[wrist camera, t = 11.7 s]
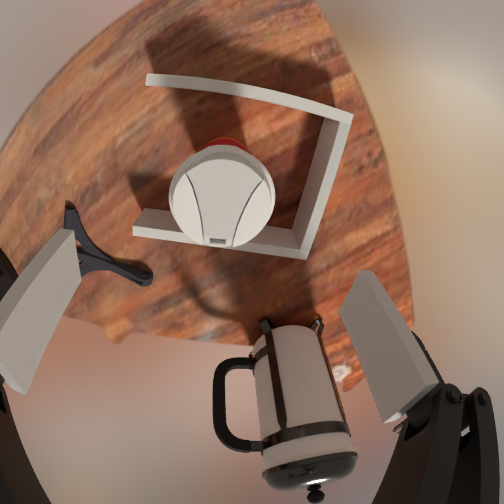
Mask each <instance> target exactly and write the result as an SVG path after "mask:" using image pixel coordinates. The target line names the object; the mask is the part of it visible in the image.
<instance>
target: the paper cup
mask: <svg viewBox="0 0 504 504" xmlns="http://www.w3.org/2000/svg"><path fill="white" fill-rule="evenodd" d="M169 205H170V209H171V212H172V215H173V217H174V219H175V220H176V222H177V224H178V225H179V227H180V229H181V230H182V231H183V232H184V233H185V234H186V235H187V236H188V237H189V238H190V239H192V240H194V241H195V242H197V243H199V244H201V245H203V243H204V244H208V245H210V246H215V247H225V246H232V247H236V246H239V245H242V244H244V243H246V242H248V241H249V240H251V239H252V238H254V237H255V236H256V235H257V234H258V233H259V232H260V231H261V230H262V229H263V227H264V226H265V225H266V223H267V222H268V220H269V219H270V216H271V214H272V212H273V208H274V205H275V188H274V184H273V181H272V178H271V176H270V174H269V172H268V171H267V169H266V168H265V166H264V165H263V164H262V163H261V162H260V161H259V160H258V159H256V158H255V157H254V156H252V155H251V154H250V152H249V151H248V149H247V148H246V147H245V146H244V145H243V144H242V143H241V142H240V141H238V140H237V139H235V138H232V137H218V138H215V139H213V140H211V141H209V142H208V143H207V144H206V145H205V146H204V147H203V148H202V149H201V150H200V151H199V152H198V153H196V154H194V155H192V156H191V157H189V158H188V159H187V160H185V161H184V162H183V163H182V164H181V165H180V167H179V168H178V170H177V171H176V172H175V174H174V176H173V179H172V181H171V184H170V188H169Z"/></svg>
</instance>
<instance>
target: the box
mask: <svg viewBox="0 0 504 504" xmlns="http://www.w3.org/2000/svg"><path fill="white" fill-rule="evenodd" d="M145 85H147V86H157V87H170V88H182V89H192V90H200V91H208V92H215V93H222V94H228V95H234V96H240V97H245V98H250V99H255V100H260V101H265V102H269V103H274V104H278V105H282V106H286V107H290V108H294V109H298V110H301V111H305V112H309V113H312V114H315V115H319V116H322V117H324V120H323V123H322V127H321V131H320V134H319V138H318V142H317V145H316V149H315V152H314V156H313V159H312V163H311V166H310V170H309V173H308V177H307V180H306V183H305V187H304V190H303V193H302V197H301V200H300V203H299V207H298V210H297V213H296V217H295V220H294V223H293V226H292V229H285V228H279V227H273V226H267V225H265V226H264V227H263V229H262V230H261V231H260V232H259V233H258V234H257V235H256V236H255V237H254V238H252V239H251V240H249V241H248V242H246V243H244V244H242V245H239V246H236V247H232V246H225V247H219V248H226V249H233V250H240V251H247V252H254V253H261V254H268V255H275V256H282V257H290V258H297V259H304V260H307V257H308V254H309V252H310V249H311V246H312V243H313V241H314V238H315V235H316V232H317V229H318V226H319V224H320V221H321V218H322V215H323V212H324V209H325V206H326V203H327V200H328V197H329V194H330V191H331V188H332V185H333V182H334V179H335V176H336V173H337V169H338V166H339V163H340V160H341V156H342V153H343V150H344V147H345V143H346V140H347V136H348V133H349V129H350V126H351V122H352V119H353V114H351V113H348V112H345V111H342V110H340V109H337V108H334V107H331V106H328V105H325V104H321V103H318V102H315V101H312V100H308V99H305V98H301V97H297V96H294V95H290V94H286V93H282V92H278V91H274V90H270V89H265V88H260V87H256V86H251V85H246V84H240V83H234V82H228V81H222V80H215V79H208V78H200V77H191V76H180V75H166V74H147V78H146V83H145ZM133 235H134V236H141V237H148V238H155V239H162V240H169V241H177V242H184V243H191V244H198V245H201V244H199V243H197V242H195V241H194V240H192V239H190V238H189V237H188V236H187V235H186V234H185V233H184V232H183V231H182V230H181V229H180V227H179V225H178V224H177V222H176V220H175V219H174V217H173V215H172V212H171V211H166V210H158V209H151V208H144V209H143V211H142V212H141V214H140V215H139V217H138V219H137V220H136V222H135V223H134V225H133ZM203 245H205V246H210V245H208V244H204V243H203ZM212 247H215V246H212Z"/></svg>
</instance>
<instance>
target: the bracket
mask: <svg viewBox="0 0 504 504" xmlns="http://www.w3.org/2000/svg"><path fill="white" fill-rule="evenodd" d="M64 229H68V230H74V234H75V239H76V240H78V241H79V242H80V243H81V245H82V247H83V250H80V249H78V248H76V250H77V257H78V260H81V261H83V262H82V263H80V264H79V269H80V274H81V277H82V276H83V275H84V274H86V273H88V272H90V271H94V270H109V271H112V272H115V273H117V274H119V275H121V276H123V277H125V278H127V279H129V280H131V281H133V282H134V283H136V284H138V285H139V286H142V287H145V286H149V285H150V284H151V283H152V279H153V273H151V272H148V271H144V270H141V269H138V268H135V267H132V266H128V265H125V264H122V263H119V262H116V261H113V259H111V258H110V257H108V256H107V255H105V254H104V253H103V252H102V251H100V250H99V249H98V248H97V247H96V246H95V245H94V244H93V242H92V241H91V240H90V238H89V237H88V235H87V234H86V232H85V230H84V228H83V225H82V223H81V220H80V217H79V214H78V212H77V211H76V208H74V209H69V206H68V205H67V206H66V207H65V222H64ZM142 274H146V275H148V276H146V275H142Z"/></svg>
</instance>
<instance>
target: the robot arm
mask: <svg viewBox="0 0 504 504" xmlns="http://www.w3.org/2000/svg"><path fill="white" fill-rule="evenodd" d="M81 281H82V280H81V274H80V269H79V263H78V257H77V250H76V242H75V234H74V230H68V229H61V228H60V229H59V230H58V232H57V233H56V234H55V235H54V236H53V237H52V238H51V239H50V240H49V241H48V242H47V243H46V245H45V246H44V247H43V248H42V249H41V250H40V251H39V253H38V254H37V255H36V256H35V257H34V258H33V260H32V261H31V262H30V263H29V264H28V266H27V267H26V268H25V269H24V271H23V272H22V273H21V274H20V276H19V277H18V276H17V274H16V272H15V270H14V268H13V266H12V265H11V263H10V262H9V261H8V259H7V258H6V257H5V256H4V254H3V253H2V252H1V251H0V504H51V502H50V501H49V499H48V497H47V495H46V494H45V492H44V490H43V488H42V486H41V484H40V483H39V480H38V478H37V476H36V474H35V472H34V470H33V468H32V466H31V464H30V462H29V459H28V457H27V455H26V452H25V450H24V448H23V445H22V442H21V440H20V437H19V434H18V432H17V429H16V426H15V423H14V420H13V417H12V413H11V410H10V406H9V403H8V400H7V395H6V392H5V390H4V387H3V386H2V385H3V383H4V381H6V382H7V383H8V385H9V386H10V387H11V388H12V389H13V390H16V391H18V392H20V393H22V394H24V395H27V393H28V390H29V388H30V385H31V382H32V380H33V377H34V374H35V372H36V370H37V368H38V365H39V363H40V360H41V358H42V356H43V353H44V351H45V349H46V347H47V345H48V343H49V340H50V338H51V336H52V334H53V332H54V330H55V328H56V326H57V324H58V322H59V320H60V318H61V316H62V315H63V313H64V311H65V309H66V307H67V305H68V303H69V302H70V300H71V298H72V296H73V294H74V293H75V291H76V289H77V287H78V286H79V284H80V282H81ZM339 314H340V316H341V318H342V321H343V323H344V325H345V328H346V330H347V332H348V335H349V337H350V340H351V342H352V344H353V347H354V349H355V352H356V354H357V356H358V359H359V361H360V364H361V366H362V369H363V371H364V374H365V376H366V379H367V381H368V384H369V386H370V389H371V392H372V394H373V397H374V400H375V403H376V405H377V408H378V411H379V414H380V416H381V419H382V422H383V423H387V422H391V421H394V420H397V419H398V418H400V417H401V416H402V415H403V414H405V413H406V414H407V417H408V418H406V419H405V420H404V421H403V422H401V423H400V424H399V425H397V426H396V427H395V428H394V429H393V432H395V431H397V430H398V429H399V428H401V427H402V428H401V430H400V431H399V432H398V433H397V434H399V438H398V441H397V444H396V447H395V450H394V452H393V455H392V458H391V460H390V463H389V466H388V469H387V471H386V473H385V476H384V478H383V481H382V483H381V485H380V487H379V490H378V492H377V494H376V496H375V498H374V500H373V502H372V504H499V488H500V482H499V481H500V477H499V454H498V443H497V434H496V426H495V419H494V413H493V408H492V403H491V399H490V396H489V394H488V392H487V391H486V390H485V389H483V388H481V387H477V388H476V389H475V390H474V391H473V392H472V393H471V394H462V393H461V392H460V390H459V389H458V388H457V387H456V386H454V385H452V384H450V383H449V384H445V383H444V381H443V379H442V377H441V375H440V373H439V372H438V370H437V368H436V366H435V364H434V363H433V361H432V359H431V357H429V356H430V355H429V354H428V352H427V350H425V347H424V345H423V343H422V341H421V340H420V338H419V337H418V336H416V335H415V333H413V331H411V330H410V329H409V327H408V325H407V324H406V322H405V320H404V319H403V317H402V316H401V314H400V312H399V311H398V309H397V308H396V306H395V304H394V303H393V301H392V300H391V298H390V297H389V295H388V294H387V292H386V290H385V289H384V287H383V286H382V284H381V283H380V281H379V280H378V279H377V277H376V276H375V274H374V273H373V271H367V270H360V271H359V273H358V275H357V277H356V279H355V281H354V283H353V285H352V287H351V289H350V291H349V293H348V295H347V297H346V299H345V301H344V303H343V305H342V306H341V308H340V310H339ZM468 426H469V429H470V432H468V433H467V434H466V435H464V436H463V437H462V436H461V431H463V430H464V429H466V428H467V427H468Z"/></svg>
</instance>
